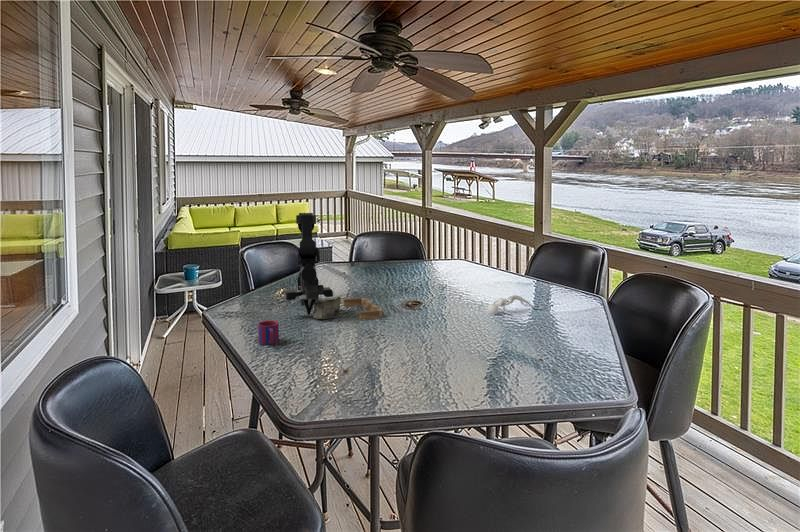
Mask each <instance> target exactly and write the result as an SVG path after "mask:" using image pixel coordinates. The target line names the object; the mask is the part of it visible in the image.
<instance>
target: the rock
mask: <svg viewBox="0 0 800 532" xmlns="http://www.w3.org/2000/svg"><path fill="white" fill-rule="evenodd" d="M340 306H341V296H338V297H337V296H336V298H326V299H324V300H323V301H319V302H316V304H314V305H313V311H312V313H311V316H312V318H313V319H316V320H327V319H331V318H333V317H334V315H335V314H337V312H339V311H340V309H341V307H340Z"/></svg>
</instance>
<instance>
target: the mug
mask: <svg viewBox="0 0 800 532" xmlns="http://www.w3.org/2000/svg"><path fill="white" fill-rule="evenodd" d="M279 328H280V327H279V321H277V320H262V321H260V322H258V324H257V329H258V331H257V337H258V338H257V339H258V344H259V345H260V346H264V345H270V346H274V344H275V345H277V344H279V342H280V335H279Z"/></svg>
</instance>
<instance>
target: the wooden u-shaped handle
mask: <svg viewBox="0 0 800 532" xmlns="http://www.w3.org/2000/svg"><path fill="white" fill-rule="evenodd" d="M355 305H358V306H362V307H363V306H364V307H363V308H364V309H366V308H367V309H366V310H363V311H359V312H358V313H359V314H358V318H359V319H358V320H360V321H364V320H363V319H366V320H374V319H373V318H376V319H380V318H383V309H381V308H380V307H379V306H377V305H375V304H374V303H373V302H371V301H369V300H368V299H367V298H365V297H353V298H342V306H343V307H345V306H347V307H354V306H355ZM355 307H356V306H355ZM379 317H380V318H379Z"/></svg>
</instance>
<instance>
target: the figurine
mask: <svg viewBox="0 0 800 532" xmlns="http://www.w3.org/2000/svg"><path fill="white" fill-rule="evenodd" d="M515 300H517V301H519V302H520V304H521V305H523V306H524V307H527V306H526V305H528V306H529V307H531V308H532V309H534V310H535V309H538V310H541V309H542V305H540V306H539V307H534V306H533V305H532V304H531V303H530V302H529V301H528V300H526V299H525V298H524V297H522V296H520V295H517V294H516V295H515V294H514V295H511V296H509V297H507V298H503V297H499V298H498V299H496V301H494V302H493V303H491V304H489V305H488V306H487V307H486V311H487V313H488V314H489V315H490V314H496V315H498V313H499V311H500V310H499V309H500V308H499V307H501V308H502V311H504V312H506V307H507V306H510V304H512V303H513V302H514V301H515Z"/></svg>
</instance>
